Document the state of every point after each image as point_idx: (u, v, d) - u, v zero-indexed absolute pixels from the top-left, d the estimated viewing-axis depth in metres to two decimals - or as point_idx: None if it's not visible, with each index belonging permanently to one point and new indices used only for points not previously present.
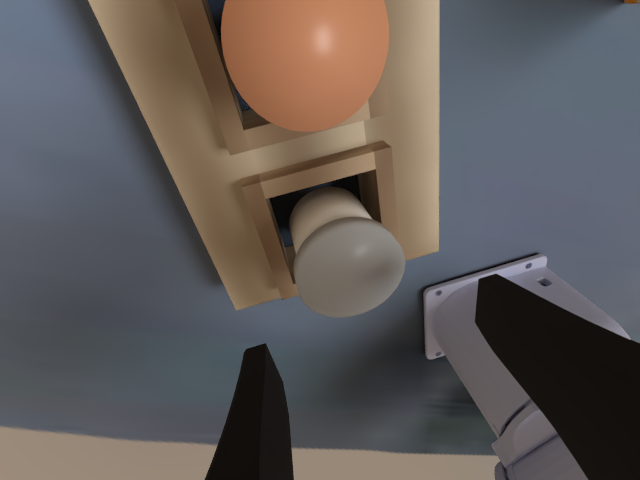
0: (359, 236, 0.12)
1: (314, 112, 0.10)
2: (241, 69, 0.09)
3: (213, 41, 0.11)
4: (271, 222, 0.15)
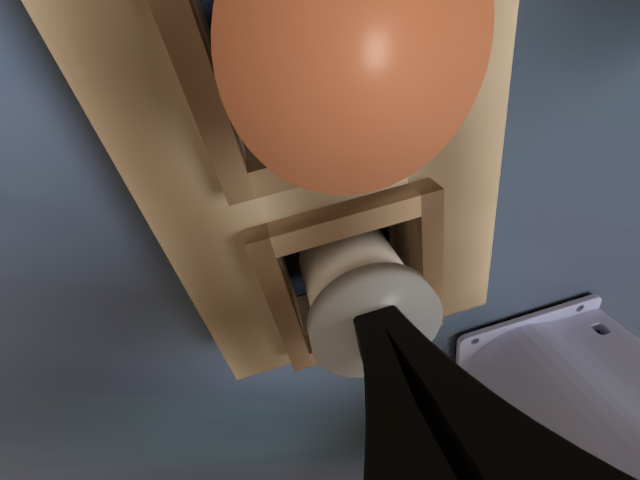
0: (389, 288, 0.10)
1: (362, 166, 0.06)
2: (246, 103, 0.05)
3: (203, 51, 0.08)
4: (283, 285, 0.12)
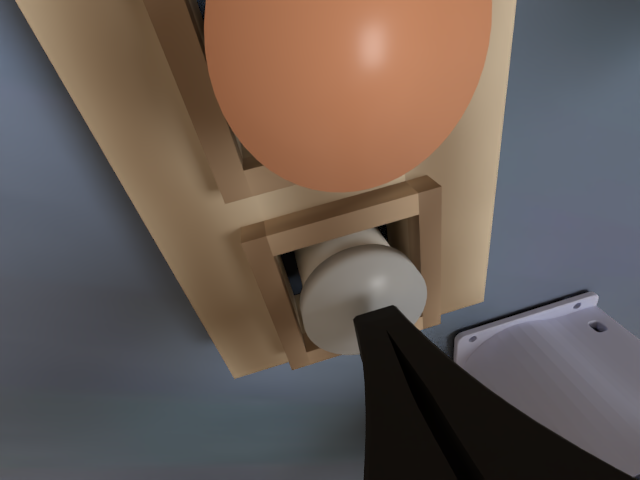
0: (376, 268, 0.11)
1: (358, 163, 0.06)
2: (241, 99, 0.05)
3: (198, 47, 0.08)
4: (280, 283, 0.12)
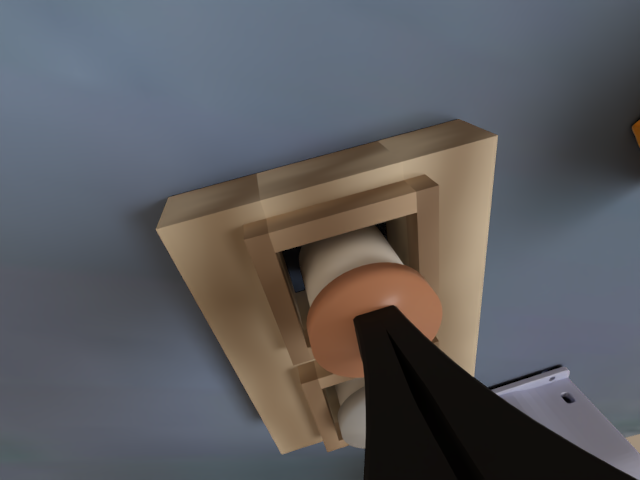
0: None
1: None
2: (323, 352, 0.11)
3: (288, 296, 0.12)
4: (324, 403, 0.16)
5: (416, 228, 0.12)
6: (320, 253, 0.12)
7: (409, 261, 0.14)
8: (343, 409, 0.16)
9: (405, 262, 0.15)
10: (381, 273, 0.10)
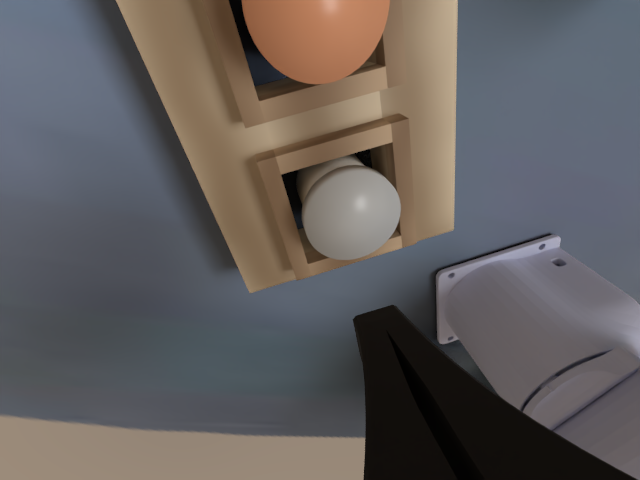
0: (359, 180, 0.14)
1: (324, 64, 0.11)
2: (259, 24, 0.10)
3: (228, 5, 0.11)
4: (286, 199, 0.15)
5: None
6: None
7: None
8: (306, 200, 0.15)
9: None
10: None
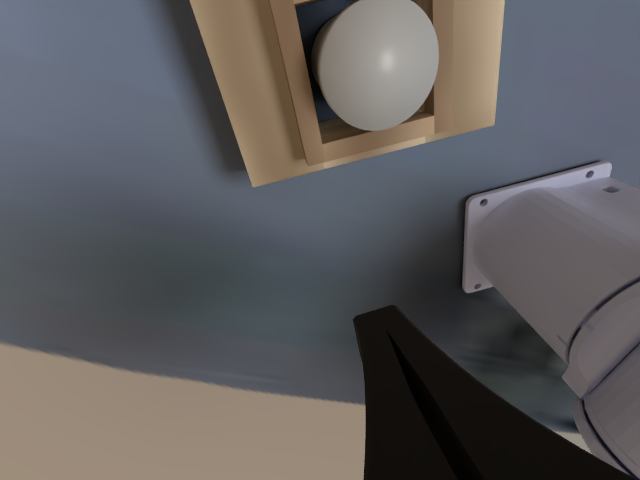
0: (391, 8, 0.11)
1: None
2: None
3: None
4: (300, 43, 0.12)
5: None
6: None
7: None
8: (324, 39, 0.12)
9: None
10: None
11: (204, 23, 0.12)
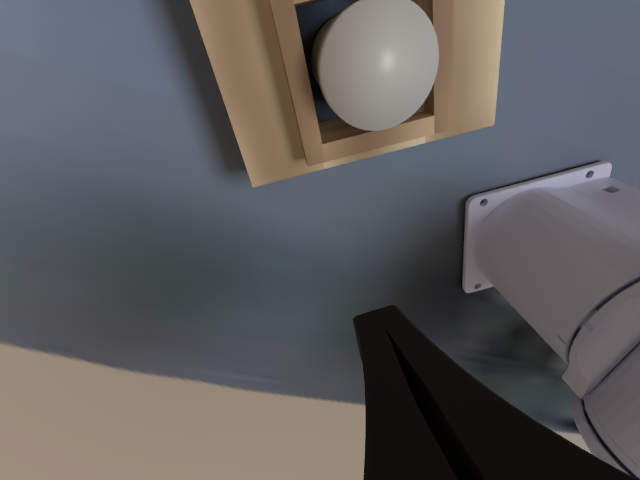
0: (391, 8, 0.11)
1: None
2: None
3: None
4: (300, 43, 0.12)
5: None
6: None
7: None
8: (324, 39, 0.12)
9: None
10: None
11: (204, 23, 0.12)
